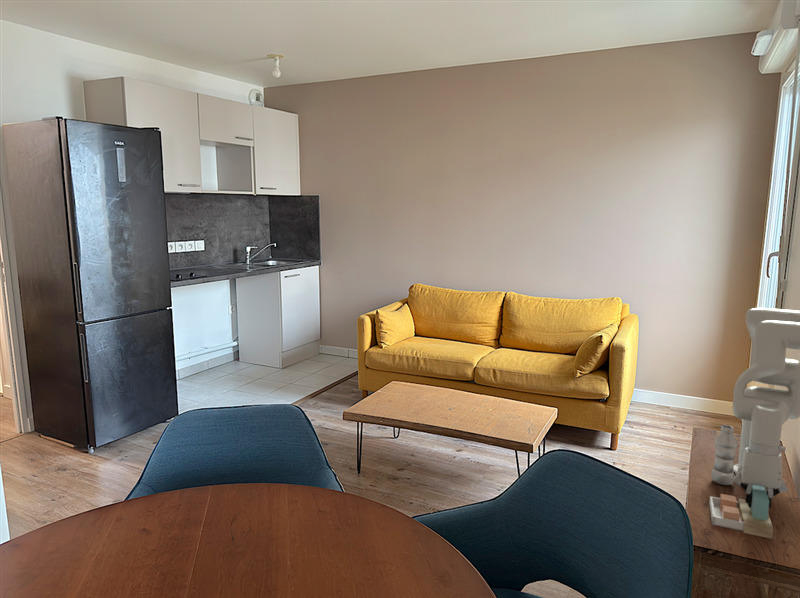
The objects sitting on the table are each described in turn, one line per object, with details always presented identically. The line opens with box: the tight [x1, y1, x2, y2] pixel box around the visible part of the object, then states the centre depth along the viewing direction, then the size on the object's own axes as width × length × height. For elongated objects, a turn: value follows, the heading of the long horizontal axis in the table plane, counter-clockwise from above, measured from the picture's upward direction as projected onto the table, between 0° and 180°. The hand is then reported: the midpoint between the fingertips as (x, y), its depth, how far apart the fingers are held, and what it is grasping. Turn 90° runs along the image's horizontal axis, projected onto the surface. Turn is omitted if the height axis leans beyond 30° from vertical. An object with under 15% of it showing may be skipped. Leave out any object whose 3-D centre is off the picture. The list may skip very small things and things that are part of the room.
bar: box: [750, 485, 770, 521], centre depth 167 cm, size 12×4×6 cm, turn 155°
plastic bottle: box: [711, 424, 739, 486], centre depth 192 cm, size 6×7×20 cm
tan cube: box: [719, 493, 738, 512], centre depth 174 cm, size 4×4×4 cm
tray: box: [708, 495, 744, 532], centre depth 171 cm, size 14×8×2 cm, turn 155°
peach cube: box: [722, 505, 740, 521], centre depth 167 cm, size 4×4×4 cm
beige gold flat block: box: [737, 498, 774, 539], centre depth 168 cm, size 16×7×3 cm, turn 155°
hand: (757, 506), depth 168 cm, fingers closed on bar, 3 cm apart
